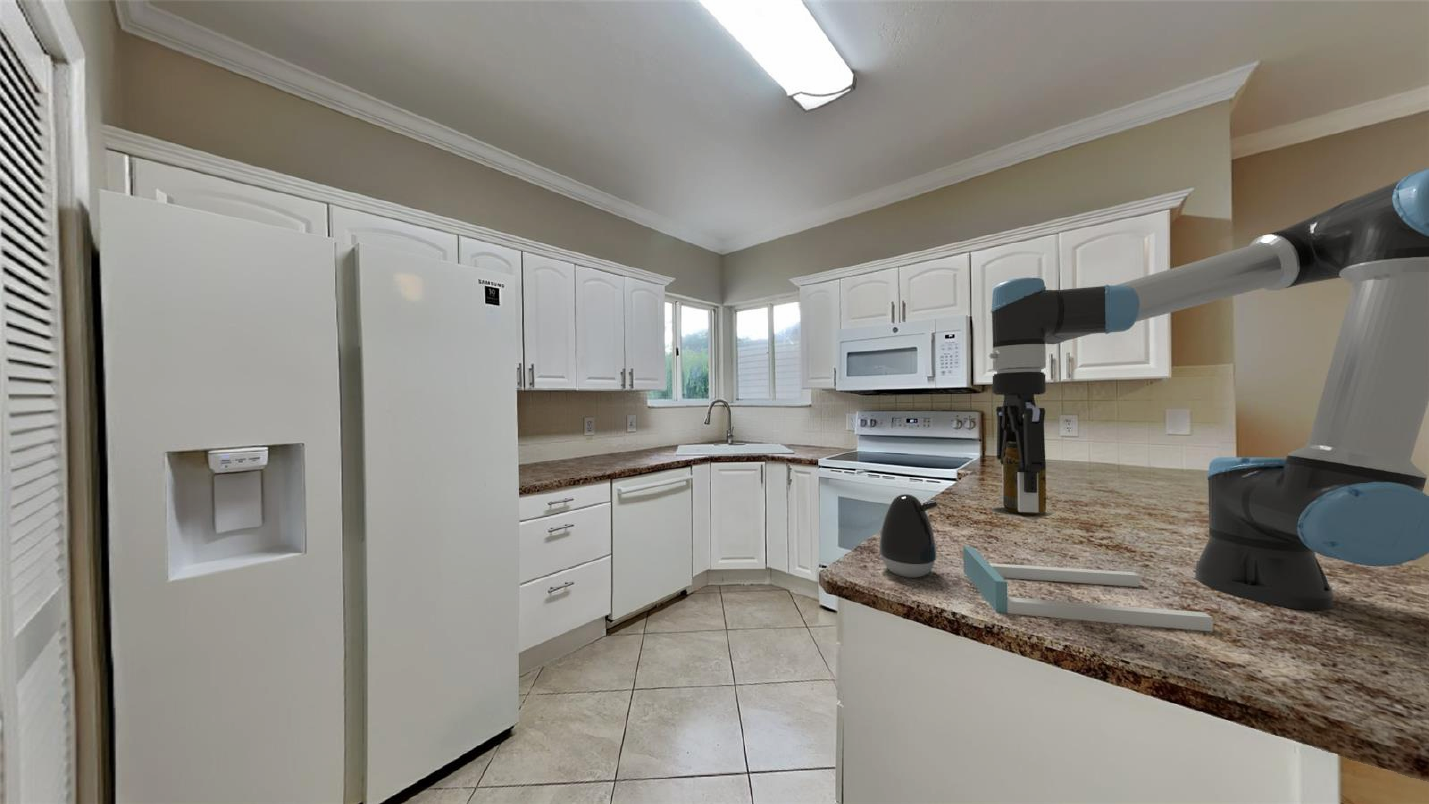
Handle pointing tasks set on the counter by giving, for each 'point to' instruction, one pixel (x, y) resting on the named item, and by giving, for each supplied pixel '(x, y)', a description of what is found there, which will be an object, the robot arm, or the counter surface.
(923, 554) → the pump dispenser
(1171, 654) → the counter surface
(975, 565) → the guide
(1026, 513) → the condiment
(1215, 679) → the counter surface
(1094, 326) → the robot arm
